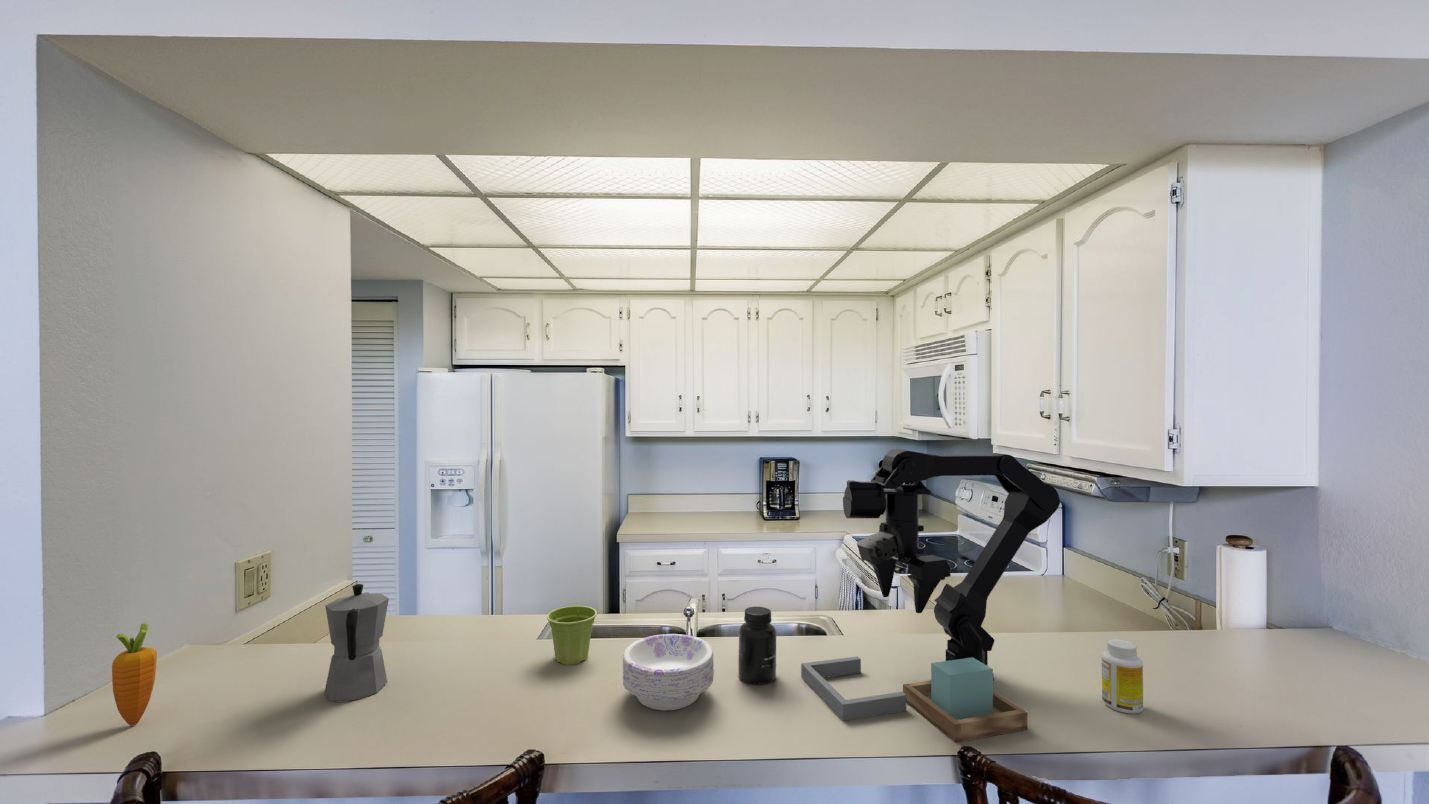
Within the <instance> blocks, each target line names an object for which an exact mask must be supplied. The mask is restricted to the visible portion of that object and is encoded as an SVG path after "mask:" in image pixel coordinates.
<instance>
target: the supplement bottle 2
mask: <svg viewBox="0 0 1429 804" xmlns="http://www.w3.org/2000/svg"><path fill="white" fill-rule="evenodd" d="M1106 645H1107V646H1106V650H1105V651H1103V652H1102V653H1101V698H1102V699H1101V700H1102V701H1103V702H1102V703H1104V704H1105V705H1106V707H1108V708H1110V709H1112V710H1114V711H1117V712H1121V713H1124V714H1125V713H1126V714H1133V715H1134V714H1139V713H1141V712H1142V711H1143V710H1144V673H1143V671H1144V665H1143V661H1142V659H1141V658H1140V657H1139V656H1138V652H1137V646H1136V645H1135V644H1134V643H1132V642H1130V641H1127V640H1122V639H1117V638H1116V639H1109V640H1107V643H1106Z"/></svg>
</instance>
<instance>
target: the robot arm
mask: <svg viewBox="0 0 1429 804" xmlns="http://www.w3.org/2000/svg"><path fill="white" fill-rule="evenodd" d="M945 476H947V477H948V476H949V477H953V476H957V477H961V476H967V477H969V476H971V477H972V476H994V478H995V479H996V481H997V482H998V484H999V485H1000V486H1001V488H1002V489H1003V490H1004V491H1005V492H1006V493H1007V497H1006V498H1005V501H1004V509H1003V517H1002V520H1001V521H1000V522H999V524H998V525H997V527H996V529H995V530H994V532H993V533H992V535H991V536H990V538H989V540H988V541H987V542H986V544H985V546H984V548H982V550H981V552H980V554H979V555H978V557H977V558H976V560H975V561H974V563H973V565H972V566H971V568H970V569H969V571H968V572H967V574H966V575H965V577H964V578H963V580H962V581H961V582H959V583H958V584H957V585H955V586H952V585H951V584H949V583H946V584H945V585H944V586H943V589H942V591H941V592H940V595H938V597H936V598H935V599H934V602H935V605H934V608H933V613H934V617H935V618H934V619H935V620H936V622H937V623H938V624H939V625H940V626H941V627H942V628H943V631H944V633H945V635H948V636H949V637H950V639H946V642H947V645H946V647H947V648H946V649H945V661H950V660H958V659H965V658H975V659H976V660H978V661H980V662H982V663H983V664H985V665H987V666H988V667H989V663H988V660H989V657H988V656H989V655H988V653H989V652H991V651H992V649H993V647H994V644H995V639H994V637H993V636H991V634H989V632H987V630H985V629H984V628H983V623H984V620H985V618H986V615H987V613H986V612H987V604H988V598H989V596H990V595H991V593H992V591H993V590H994V588H995V587H996V585H997V583H998V582H999V580H1000V579H1001V577H1002V576H1003V574H1004V573H1005V571H1006V570H1007V568H1008V567H1009V565H1010V563H1011V562H1012V560H1013V558H1014V557H1015V556H1016V554H1017V553H1018V551H1019V549H1020V548H1021V547H1022V545H1023V543H1024V542H1025V539H1026V538H1027V537H1028V535H1029V534H1030V533H1031V532H1032V531H1034V530H1035V529H1037V528H1039V527H1040V526H1042V525H1043V524H1045V523H1046V522H1047V521H1048V520H1049V519H1050V518H1051V517H1052V516H1053V515H1054V514H1055V513H1056V512H1057V510H1059V507H1060V505H1061V499H1060V496H1059V493H1058V491H1057V489H1056V488H1055V487H1054V486H1053V485H1051V484H1048V483H1045V482H1044V481H1043V480H1042V479H1041V478H1040V477H1038V476H1037V475H1036V474H1034V473H1033V472H1032V471H1030V470H1029V469H1028V468H1026V467H1025V466H1024V465H1022V464H1021V463H1020V462H1019V461H1018V460H1017V459H1016V457H1014V455H1012V454H1006V453H998V452H995V453H994V452H993V453H992V454H991V453H990V454H989V453H988V454H932V453H931V454H930V453H924V452H919V451H914V450H908V449H902V448H894V449H891V450H888V451H887V452H886V454H885V455H884V457H883V458H882V465H881V467H880V468H879V469H878V470H877V472H876V473H875V474H874V475H873V477H872V479H871V480H870V481H859V480H853V479H851V480H847V481H846V487H845V490H844V495H843V497H842V506H843V507H842V509H843V512H844V513H843V515H844V516H845V518H846V519H880V517H881V516H883V515H884V514H885V522H880V525H879V526H878V527H879V530H878V532H875V533H873V534H870V535H869V536H867V537H864V538H862V539H860V540H858V541H857V542H856V546H857V549H858V555H860V559H861V561H866V562H867V563H868V564H869V565H870V566H871V567H872V568H873V571H874V573H875V575H876V579H877V583H878V586H879V589H880V591H881V595H882V597H883V598H889V596H890V593H891V589H892V585H893V581H894V575H895V571H896V570H895V569H896V565H897V562H900V563H902V564H904V565H907V570H908V572H909V574H907V576H906V577H907V578H908V579H909V580H910V582H912V584H913V599H914V600H913V601H914V609H915V613H916V614H923V611H924V610H925V608H926V606H927V604H928V602H929V600H930V598H931V596H932V595H933V592H934V591H935V590H936V588H937V587H938V585H939V584H940V582H941V581H944V580H946V578H949V577H951V575H952V574H951V569H952V568H951V563H950V562H949V561H948V560H947V559H945V558H942V557H939V556H936V555H934V554H931V555H930V554H929V555H924V547H920V546H919V538H920V537H919V532H924V530H925V528H924V527H925V525H923V524H919V523H920V522H919V519H920V518H919V516H920V515H919V513H920V512H919V511H920V510H919V509H920V508H919V505H920V504H919V503H920V502H919V500H920V497H919V496H921V495H922V496H923V495H926V496H927V495H928V496H929V495H931V494H932V490H930V489H928V488H927V487H926V486H925V484H924V483H923V481H927V480H930V479H933V478H939V477H945ZM905 483H906V484H905ZM918 555H920V556H918ZM994 681H995V678H993V682H994Z"/></svg>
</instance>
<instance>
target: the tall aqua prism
mask: <svg viewBox="0 0 1429 804" xmlns="http://www.w3.org/2000/svg"><path fill="white" fill-rule="evenodd" d="M930 664H931V665H930V668H931V669H930V672H931V673H930V675H931V676H930V680H931V701H932V702H933V703H934V704H936V705H937V706H938V707H940V708H941V709H942V710H944V711H945V712H946V713H948V714H949V715H950V716H952V717H953V718H954V719H955V720H959V719H965V718H971V717H977V716H983V715H989V714H993V691H994V681H993V678H994V676H995V675H994V669H993V668H992V667H991V666H989V665H988V666H987V665H985V664H983V663H982V662H980V661H978V660H976V659H975V658H965V659H958V660H950V661H946V660H944V661H937V662H931V663H930ZM994 679H995V678H994Z"/></svg>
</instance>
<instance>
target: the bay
mask: <svg viewBox="0 0 1429 804" xmlns="http://www.w3.org/2000/svg"><path fill="white" fill-rule="evenodd" d="M800 665H801V666H800V669H801V670H800V674H801V675H800V677H802V678H803V679H804V680H805V681H806V682H807V683H806V682H805V681H804V680H803V679H802V678H801V679H802V680H803V681H804V682H805V683H806V684H807V685H808V684H809V685H808V686H809V687H810V688H811V689H812V690H813V691H814V693H816V694H817V696H819V698H820V699H821V700H822V701H823V702H824V703H825V704H826V705H827V706H828V707H829V708H830V710H832V711H833V712H834V713H835V715H836V716H838V718H839V719H840V720H841V721H842V722H843V721H851V720H857V719H861V718H863V719H864V718H869V717H875V716H882V715H887V714H893V713H899V712H906V711H907V703H906V694H904V693H903V691H898V692H891V693H890V692H888V693H883V694H877V695H876V694H875V695H871V696H864V697H857V698H855V697H854V698H851V699H850V698H849V699H846V698H844V697H843V696H842V695H841V694H840V693H839V691H837V690H836V689H835V688H834V687H833V686H832V685H831V684H830V683H829V681H827V680H826V679H825V678H829V677H828V676H832V677H838V676H845V675H846V676H847V675H853V674H852V673H854V674H860V673H862V659H861V658H860V657H859V656H856V655H855V656H850V657H840V658H835V659H825V660H819V661H809V662H803V663H802V662H801V664H800ZM823 677H825V678H823Z"/></svg>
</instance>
